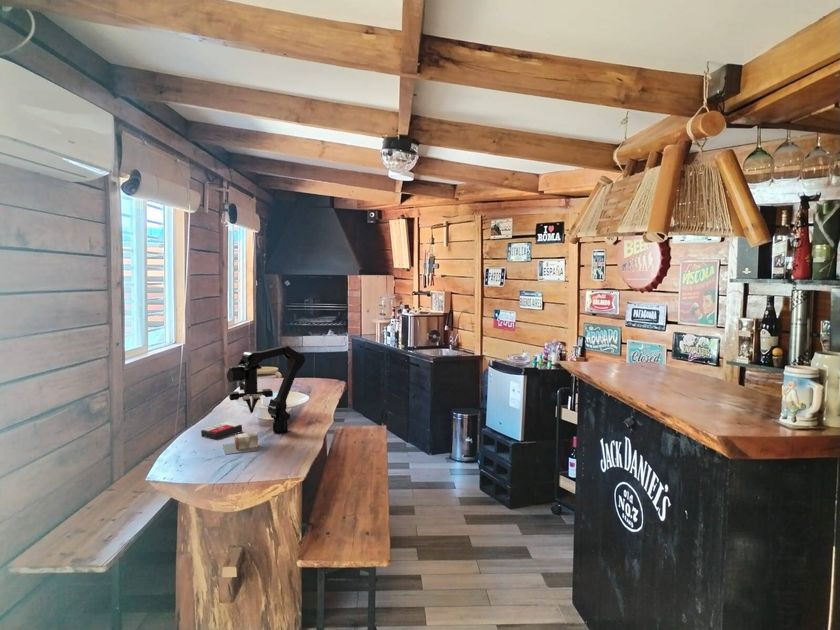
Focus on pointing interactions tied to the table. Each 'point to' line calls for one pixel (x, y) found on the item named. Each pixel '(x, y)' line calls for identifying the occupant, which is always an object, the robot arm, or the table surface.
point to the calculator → (221, 430)
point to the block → (246, 440)
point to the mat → (232, 449)
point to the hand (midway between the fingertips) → (251, 412)
